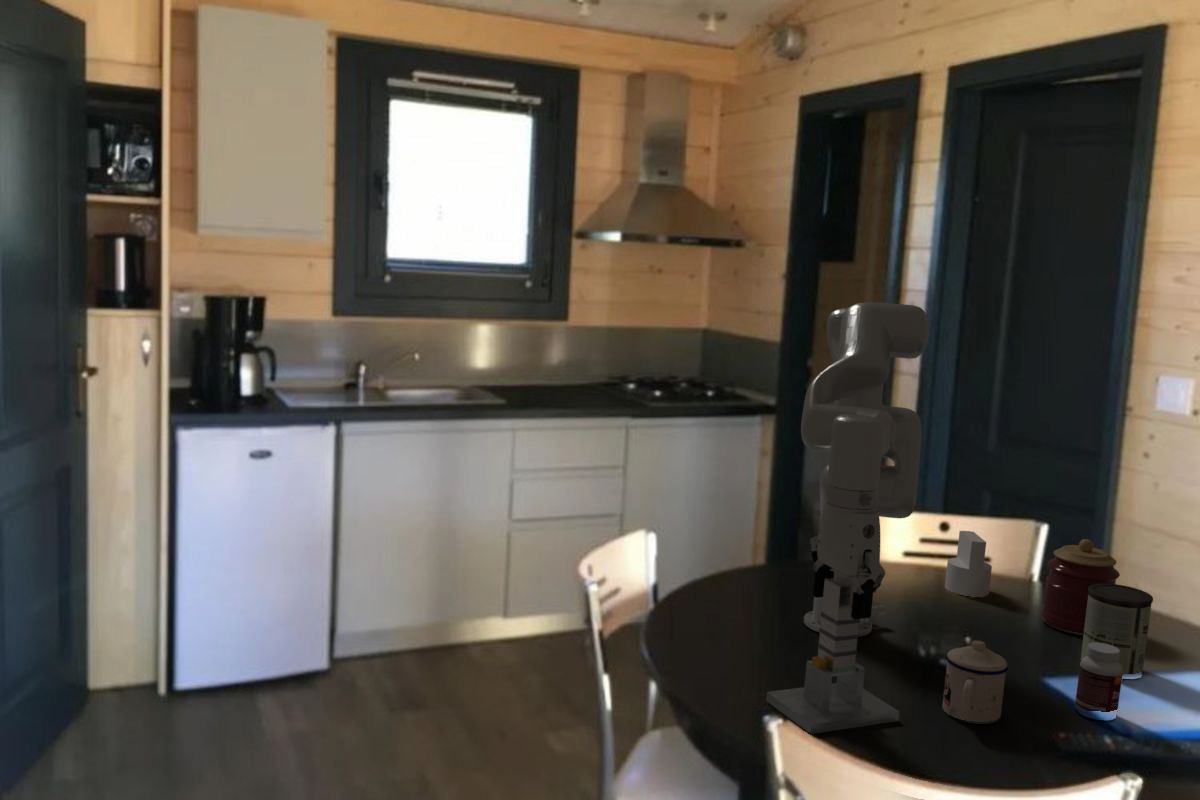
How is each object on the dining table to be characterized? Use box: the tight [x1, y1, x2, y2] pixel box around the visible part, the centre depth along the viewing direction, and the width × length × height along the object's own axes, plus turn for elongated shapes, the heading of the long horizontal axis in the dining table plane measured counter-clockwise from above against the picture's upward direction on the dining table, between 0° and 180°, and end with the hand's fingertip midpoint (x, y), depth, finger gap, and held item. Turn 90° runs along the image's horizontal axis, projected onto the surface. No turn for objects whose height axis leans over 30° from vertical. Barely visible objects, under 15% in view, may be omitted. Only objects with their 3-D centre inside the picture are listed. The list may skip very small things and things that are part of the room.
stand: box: [765, 655, 900, 735], centre depth 169 cm, size 16×12×9 cm
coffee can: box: [1080, 583, 1154, 674], centre depth 193 cm, size 10×10×14 cm
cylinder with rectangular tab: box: [944, 530, 993, 598], centre depth 235 cm, size 9×9×12 cm
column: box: [817, 577, 860, 678], centre depth 167 cm, size 4×4×14 cm
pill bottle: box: [1074, 643, 1123, 712], centre depth 173 cm, size 6×6×11 cm
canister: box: [1041, 538, 1121, 633], centre depth 215 cm, size 13×13×18 cm
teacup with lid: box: [942, 640, 1009, 722], centre depth 169 cm, size 12×9×12 cm
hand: (841, 606), depth 167 cm, fingers open, 9 cm apart
